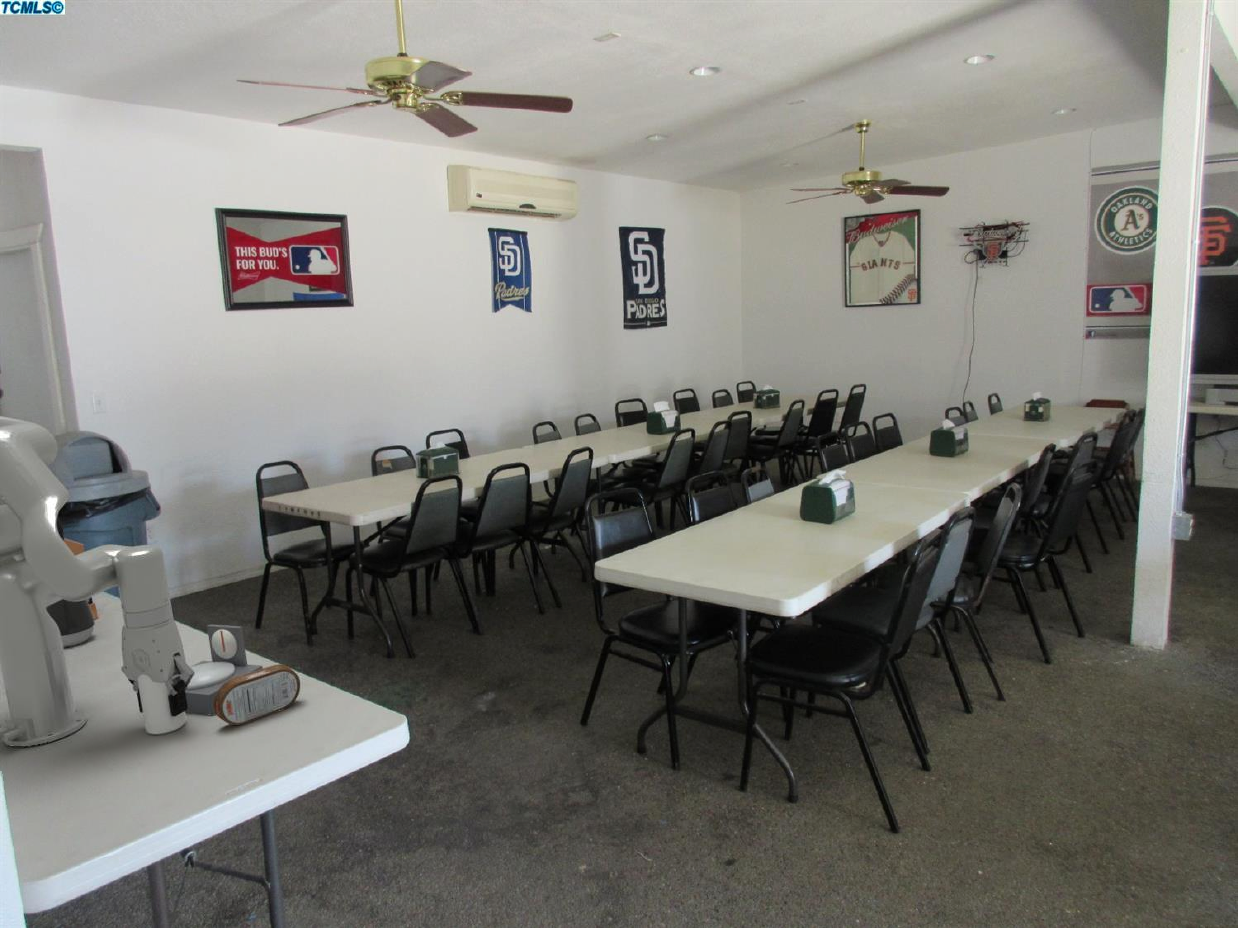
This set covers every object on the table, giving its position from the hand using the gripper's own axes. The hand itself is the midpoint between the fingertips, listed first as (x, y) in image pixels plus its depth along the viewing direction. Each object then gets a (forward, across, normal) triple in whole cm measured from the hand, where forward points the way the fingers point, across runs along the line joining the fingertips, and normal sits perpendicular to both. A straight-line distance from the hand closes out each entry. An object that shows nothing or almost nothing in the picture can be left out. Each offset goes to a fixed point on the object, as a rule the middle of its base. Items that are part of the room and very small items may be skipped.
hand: (164, 710), depth 154 cm
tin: (+4, +15, +8) cm, 17 cm away
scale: (+3, -2, +12) cm, 13 cm away
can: (+3, 0, 0) cm, 3 cm away
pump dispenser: (+3, -62, +31) cm, 69 cm away
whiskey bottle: (+3, -77, +42) cm, 88 cm away
